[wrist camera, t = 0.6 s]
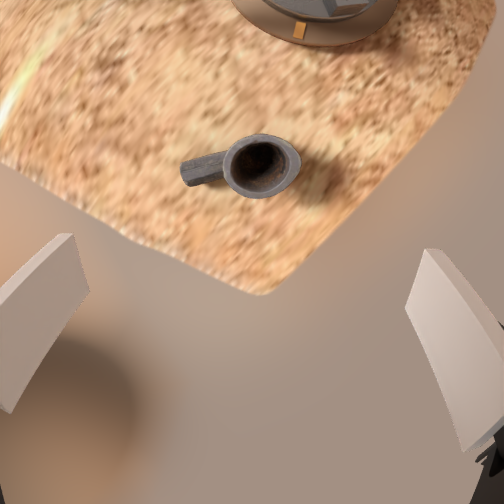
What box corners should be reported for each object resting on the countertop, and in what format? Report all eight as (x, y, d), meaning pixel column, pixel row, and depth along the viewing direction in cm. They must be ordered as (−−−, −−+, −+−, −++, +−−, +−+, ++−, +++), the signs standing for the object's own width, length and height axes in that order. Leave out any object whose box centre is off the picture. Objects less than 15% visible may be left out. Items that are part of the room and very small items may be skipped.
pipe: (183, 148, 34) (159, 162, 27) (289, 120, 31) (294, 126, 24) (198, 194, 36) (179, 219, 29) (300, 170, 34) (308, 190, 27)
